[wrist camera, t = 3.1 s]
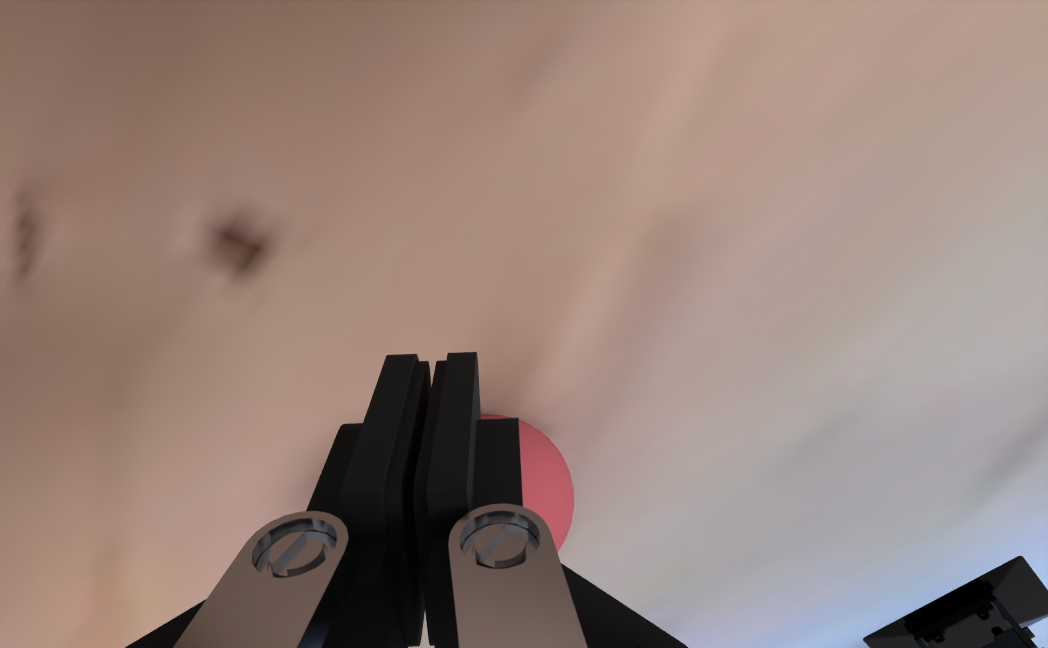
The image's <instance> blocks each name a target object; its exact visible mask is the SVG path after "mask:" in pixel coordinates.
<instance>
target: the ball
mask: <svg viewBox="0 0 1048 648" xmlns="http://www.w3.org/2000/svg"><path fill="white" fill-rule="evenodd" d="M499 418H510V417H506V416H499V415H486V416H481V419H499ZM519 437H520V456H521V475H522V495H523V507H525V508H527V509H529V510H532V511H534V512H535V513H537V514H538V515H539V516H540V517H541V518H542V519H544V520H545V522H546V524H547V526H548V527H549V529H550V531H551V534H552V537H553V541H554V544H555V547H556V550H557V552H558V550H559V549H560V547H561V546H562V544H563V542H564V540H565V538H566V536H567V534H568V531H569V528H570V525H571V521H572V516H573V509H574V492H573V485H572V481H571V476H570V472H569V470H568V467H567V465H566V463H565V461H564V458H563V457H562V455H561V454H560V452H559V450H558V449H557V448H556V447H555V445H554V444H553V443H552V442H551V441H550V439H548V438H547V437H546V436H545V435H544V434H543V433H542V432H540V431H539V430H537V429H536V428H534V427H533V426H531V425H529V424H527V423H525V422H523V421H520V420H519Z"/></svg>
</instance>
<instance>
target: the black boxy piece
mask: <svg viewBox="0 0 1048 648" xmlns="http://www.w3.org/2000/svg"><path fill="white" fill-rule="evenodd" d="M1046 617H1048V590H1047V589H1046V587H1045V586H1044V585H1043V583H1042V582H1041V581H1040V579H1039V578H1038V577H1037V575H1036V574H1035V572H1034V571H1033V570H1032V568H1031V567H1030V566H1029V564H1028V563H1027V562H1026V560H1025V559H1024V558H1023V556H1018V557H1016V558H1014V559H1012V560H1010V561H1008V562H1006V563H1004V564H1003V565H1001V566H999V567H997V568H995V569H993V570H991V571H989V572H987V573H985V574H984V575H982V576H980V577H978V578H976V579H974V580H972V581H970V582H968V583H967V584H965V585H963V586H961V587H959V588H957V589H955V590H953V591H951V592H950V593H948V594H946V595H944V596H942V597H940V598H938V599H936V600H934V601H932V602H931V603H929V604H927V605H925V606H923V607H921V608H919V609H917V610H915V611H914V612H912V613H910V614H908V615H906V616H904V617H902V618H900V619H898V620H896V621H895V622H893V623H891V624H889V625H887V626H885V627H883V628H881V629H879V630H878V631H876V632H874V633H872V634H870V635H868V636H866V637H864V638H863V641H864V642H865V643H866V644H867V645H868V646H869V647H870V648H1038V647H1037V646H1036V645H1035V644H1034V642H1033V641H1032V640H1031V638H1033V637H1035V635H1034V634H1033V633H1032V632H1031V631H1030V629H1029V628H1028V626H1030V625H1032V624H1034V623H1036V622H1038V621H1040V620H1042V619H1044V618H1046ZM1043 648H1044V647H1043Z"/></svg>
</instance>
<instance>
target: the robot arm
mask: <svg viewBox="0 0 1048 648" xmlns="http://www.w3.org/2000/svg"><path fill="white" fill-rule="evenodd" d="M425 612H426V621H427V630H428V638H429V644H430V646H435V648H688V647H687V646H686V645H685V644H683V643H682V642H680V641H679V640H677V639H675V638H674V637H672V636H671V635H669V634H668V633H666V632H665V631H663V630H662V629H660V628H659V627H657V626H656V625H654V624H653V623H651V622H650V621H648V620H647V619H645V618H644V617H642V616H641V615H639V614H638V613H636V612H634V611H633V610H631V609H630V608H628V607H627V606H625V605H624V604H622V603H621V602H619V601H618V600H616V599H615V598H613V597H612V596H610V595H609V594H607V593H606V592H604V591H603V590H601V589H600V588H598V587H597V586H595V585H593V584H592V583H590V582H589V581H587V580H586V579H584V578H583V577H581V576H580V575H578V574H577V573H575V572H574V571H572V570H571V569H569V568H568V567H566V566H565V565H563V564H562V563H560V559H559V556H558V553H557V550H556V547H555V544H554V541H553V537H552V534H551V531H550V529H549V527H548V526H547V524H546V522H545V520H544V519H542V518H541V517H540V516H539V515H538V514H537V513H535V512H534V511H532V510H529V509H527V508H525V507H523V495H522V475H521V456H520V437H519V419H518V418H499V419H481V413H480V394H479V376H478V359H477V352H464V353H448V355H447V360H446V361H437V362H436V366H435V372H434V377H433V382H432V388H431V377H430V367H429V362H428V361H419V359H418V356H417V354H403V355H387V356H386V359H385V361H384V364H383V367H382V370H381V373H380V376H379V379H378V382H377V385H376V387H375V390H374V393H373V396H372V399H371V402H370V405H369V408H368V411H367V414H366V416H365V419H364V422H363V423H356V424H343V425H341V427H340V429H339V430H338V433H337V435H336V438H335V440H334V443H333V445H332V448H331V450H330V453H329V455H328V458H327V460H326V463H325V465H324V468H323V470H322V473H321V475H320V478H319V480H318V483H317V485H316V488H315V490H314V493H313V495H312V498H311V500H310V503H309V505H308V508H307V510H306V511H303V512H297V513H293V514H289V515H285V516H283V517H280V518H278V519H276V520H274V521H271V522H269V523H268V524H266V525H265V526H264V527H262V528H261V529H259V530H258V531H256V532H255V533H254V535H253V536H252V537H251V538H250V539H249V540H248V541H247V542H246V543H245V545H244V546H243V548H242V549H241V551H240V552H239V554H238V555H237V556H236V558H235V559H234V561H233V562H232V564H231V565H230V566H229V568H228V569H227V571H226V572H225V574H224V575H223V576H222V578H221V579H220V581H219V582H218V584H217V585H216V587H215V588H214V589H213V591H212V592H211V594H210V595H209V597H208V598H207V599H206V600H204V601H202V602H201V603H199V604H197V605H196V606H194V607H192V608H191V609H189V610H187V611H186V612H184V613H182V614H181V615H179V616H177V617H175V618H174V619H172V620H170V621H169V622H167V623H165V624H164V625H162V626H160V627H159V628H157V629H155V630H154V631H152V632H150V633H149V634H147V635H145V636H144V637H142V638H140V639H139V640H137V641H135V642H133V643H132V644H130V645H128V646H127V647H125V648H408V647H412V646H420V643H421V636H422V629H423V621H424V613H425Z"/></svg>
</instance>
